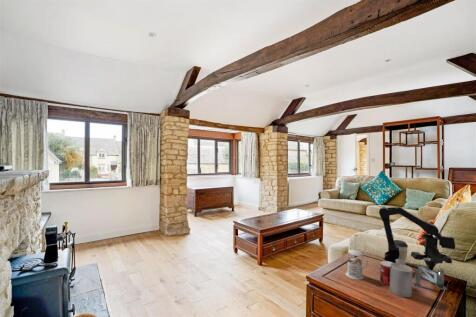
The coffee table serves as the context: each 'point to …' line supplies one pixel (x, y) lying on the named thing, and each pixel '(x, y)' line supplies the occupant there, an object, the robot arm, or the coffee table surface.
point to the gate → (428, 274)
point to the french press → (354, 272)
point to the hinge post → (440, 279)
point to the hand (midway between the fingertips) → (430, 271)
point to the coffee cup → (401, 251)
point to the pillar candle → (401, 279)
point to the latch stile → (417, 279)
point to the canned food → (385, 272)
